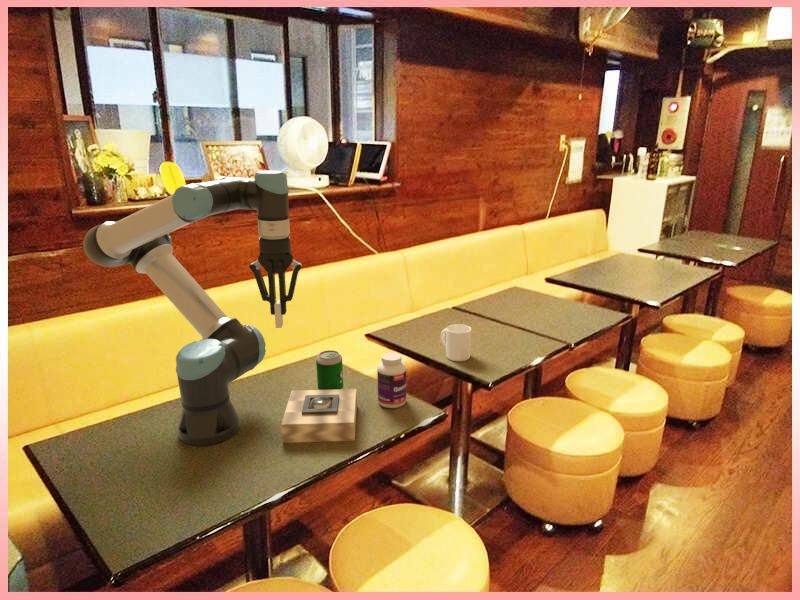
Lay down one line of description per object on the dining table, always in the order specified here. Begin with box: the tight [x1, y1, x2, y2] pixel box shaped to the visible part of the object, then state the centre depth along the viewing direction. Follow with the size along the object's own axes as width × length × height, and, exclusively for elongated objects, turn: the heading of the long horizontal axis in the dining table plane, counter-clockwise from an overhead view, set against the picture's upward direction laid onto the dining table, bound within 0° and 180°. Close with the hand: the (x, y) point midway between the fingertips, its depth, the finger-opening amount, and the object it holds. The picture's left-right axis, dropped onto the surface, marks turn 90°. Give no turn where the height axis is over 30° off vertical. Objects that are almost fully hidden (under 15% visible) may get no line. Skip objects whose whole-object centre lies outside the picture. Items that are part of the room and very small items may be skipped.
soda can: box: [315, 349, 344, 390], centre depth 165 cm, size 8×8×12 cm
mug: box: [440, 323, 472, 362], centre depth 189 cm, size 12×8×10 cm
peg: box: [311, 397, 331, 409], centre depth 148 cm, size 5×5×6 cm
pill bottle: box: [376, 352, 407, 409], centre depth 157 cm, size 8×8×14 cm
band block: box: [280, 388, 358, 444], centre depth 148 cm, size 18×18×6 cm
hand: (279, 325), depth 144 cm, fingers closed
